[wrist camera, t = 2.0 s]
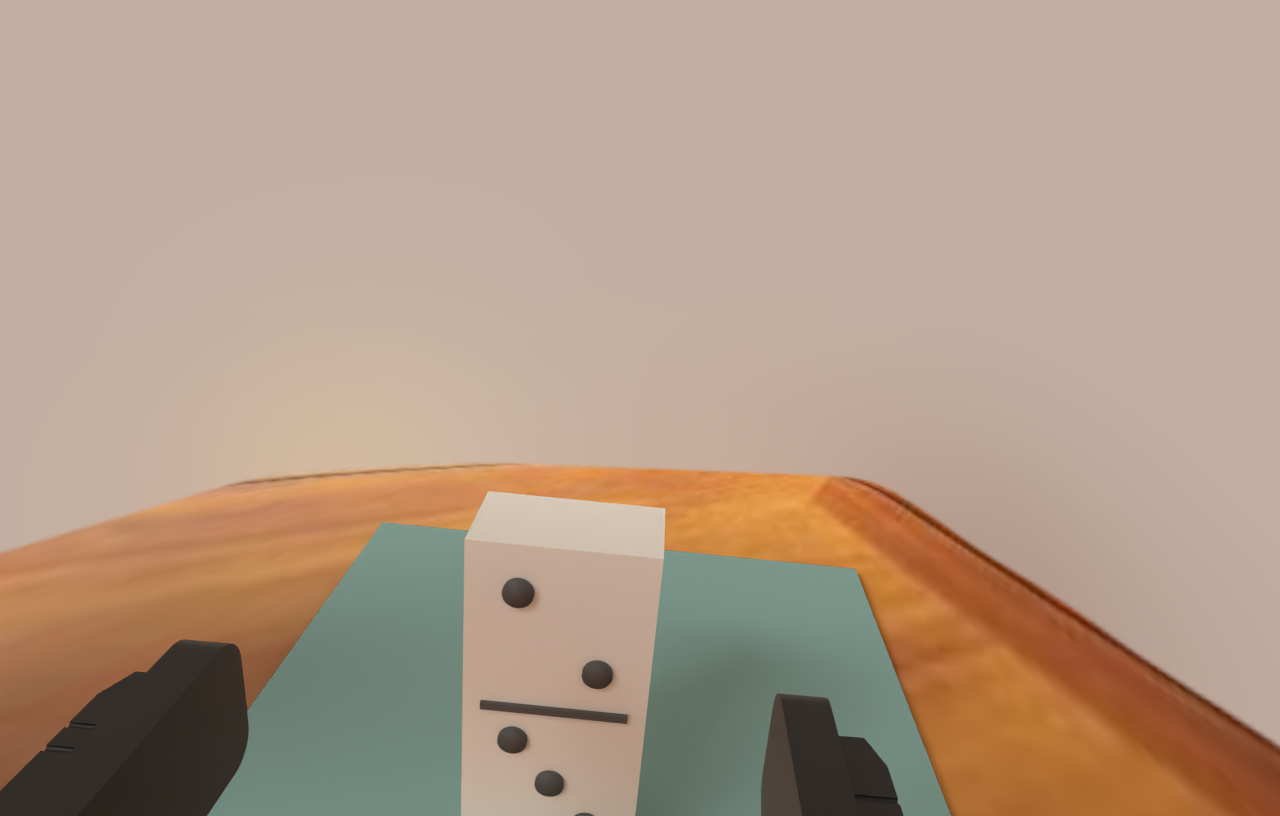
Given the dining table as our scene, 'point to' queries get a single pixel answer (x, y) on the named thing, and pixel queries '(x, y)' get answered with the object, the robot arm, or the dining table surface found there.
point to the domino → (557, 654)
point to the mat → (677, 704)
